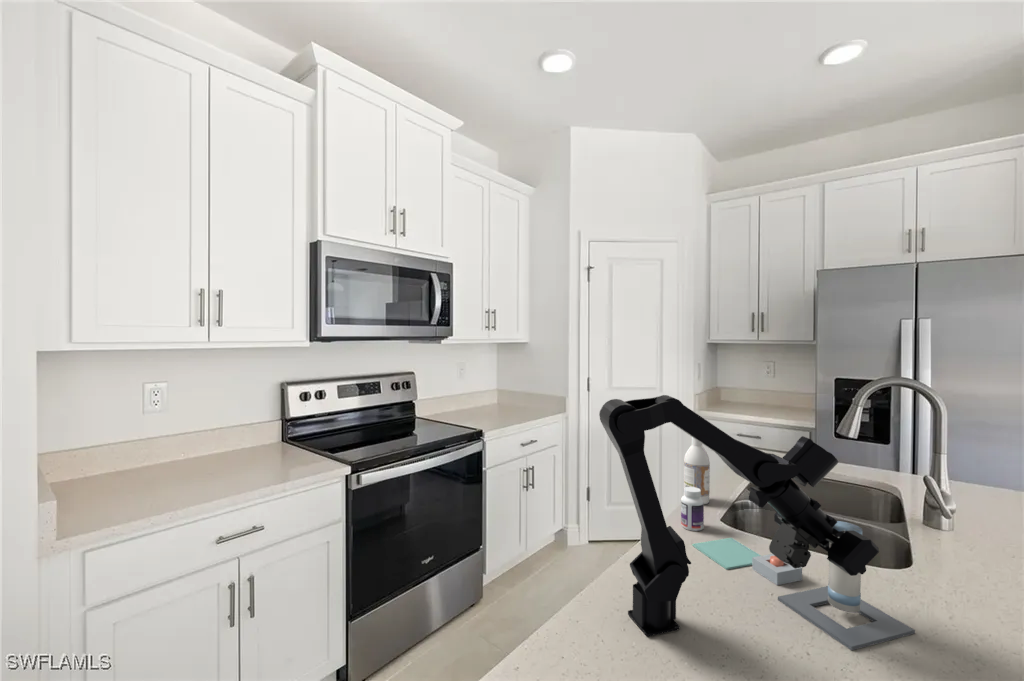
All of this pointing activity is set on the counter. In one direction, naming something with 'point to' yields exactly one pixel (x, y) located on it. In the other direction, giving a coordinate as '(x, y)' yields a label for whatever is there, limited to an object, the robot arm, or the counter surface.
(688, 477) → the body lotion
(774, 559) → the release button
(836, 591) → the cartridge
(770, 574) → the block
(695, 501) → the pill bottle
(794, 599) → the port plate
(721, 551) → the rubber mat
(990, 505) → the counter surface
